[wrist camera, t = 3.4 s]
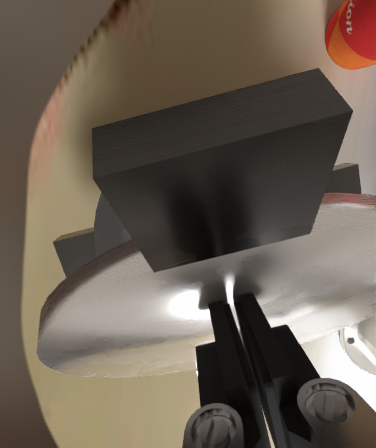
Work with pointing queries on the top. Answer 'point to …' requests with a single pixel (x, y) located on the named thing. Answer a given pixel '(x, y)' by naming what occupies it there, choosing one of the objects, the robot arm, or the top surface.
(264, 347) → the robot arm
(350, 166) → the cooker pot
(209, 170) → the cooker lid
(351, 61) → the paper cup
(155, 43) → the top surface
